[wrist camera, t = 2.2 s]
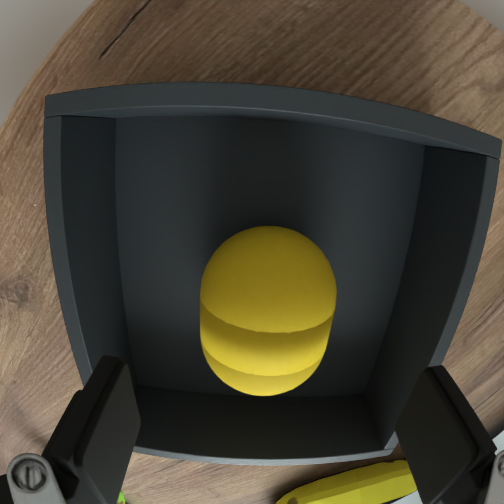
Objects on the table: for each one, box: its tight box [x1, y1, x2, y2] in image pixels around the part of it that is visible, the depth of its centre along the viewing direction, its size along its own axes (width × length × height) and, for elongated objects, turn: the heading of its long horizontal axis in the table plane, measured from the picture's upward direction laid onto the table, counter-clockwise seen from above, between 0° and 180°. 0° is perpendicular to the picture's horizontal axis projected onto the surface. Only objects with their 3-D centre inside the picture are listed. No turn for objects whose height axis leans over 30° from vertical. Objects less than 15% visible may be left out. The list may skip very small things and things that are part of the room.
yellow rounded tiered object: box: [200, 226, 337, 396], centre depth 13 cm, size 8×6×6 cm
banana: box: [276, 460, 417, 504], centre depth 25 cm, size 5×17×15 cm
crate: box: [43, 82, 502, 465], centre depth 14 cm, size 18×17×6 cm
